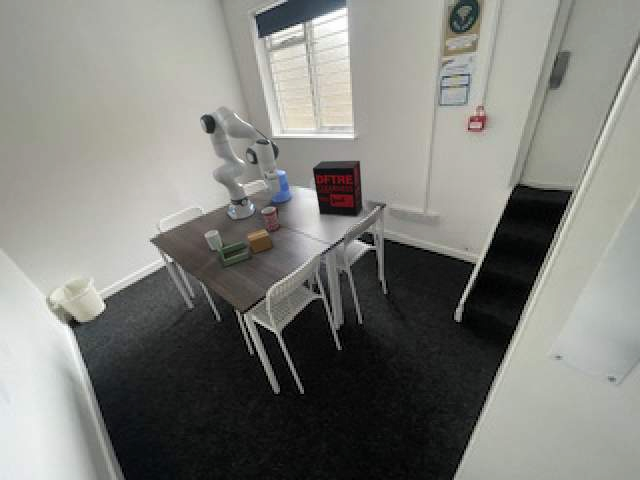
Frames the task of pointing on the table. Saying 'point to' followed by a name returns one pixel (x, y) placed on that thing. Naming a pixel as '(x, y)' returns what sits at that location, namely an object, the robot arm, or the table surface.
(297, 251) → the table surface
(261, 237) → the parcel
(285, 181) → the water jug
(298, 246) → the table surface
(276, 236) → the table surface
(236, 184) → the robot arm
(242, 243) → the stand
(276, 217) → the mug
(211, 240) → the white cup
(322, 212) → the product box
